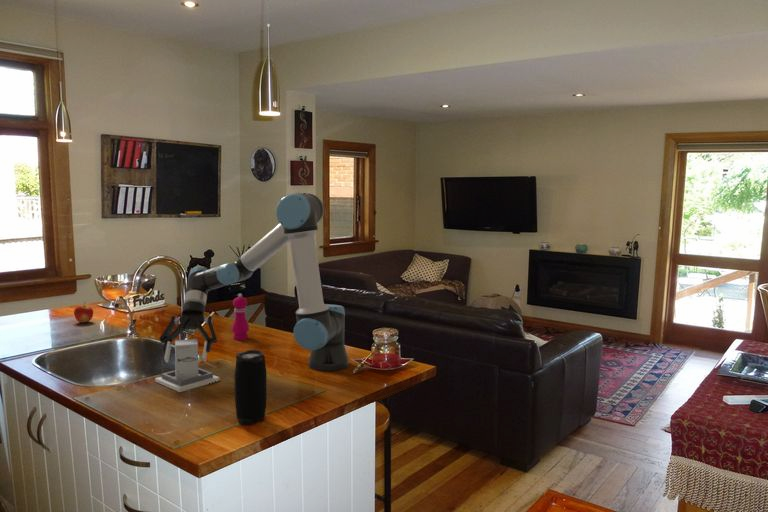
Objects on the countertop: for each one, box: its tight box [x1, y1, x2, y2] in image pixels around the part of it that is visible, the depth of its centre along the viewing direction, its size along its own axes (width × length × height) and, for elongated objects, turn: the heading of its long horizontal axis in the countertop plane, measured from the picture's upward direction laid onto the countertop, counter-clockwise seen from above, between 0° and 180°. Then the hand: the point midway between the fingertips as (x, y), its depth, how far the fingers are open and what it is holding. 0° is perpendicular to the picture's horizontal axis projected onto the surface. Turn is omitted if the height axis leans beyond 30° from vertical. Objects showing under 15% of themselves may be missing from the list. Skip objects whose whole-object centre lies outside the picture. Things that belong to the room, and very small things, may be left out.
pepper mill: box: [231, 293, 250, 341], centre depth 247 cm, size 7×7×20 cm
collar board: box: [154, 367, 220, 393], centre depth 192 cm, size 15×15×3 cm
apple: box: [73, 302, 94, 324], centre depth 270 cm, size 8×8×10 cm
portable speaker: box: [233, 349, 267, 426], centre depth 161 cm, size 9×9×20 cm
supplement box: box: [174, 338, 199, 380], centre depth 192 cm, size 7×7×13 cm
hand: (185, 360), depth 189 cm, fingers open, 11 cm apart
